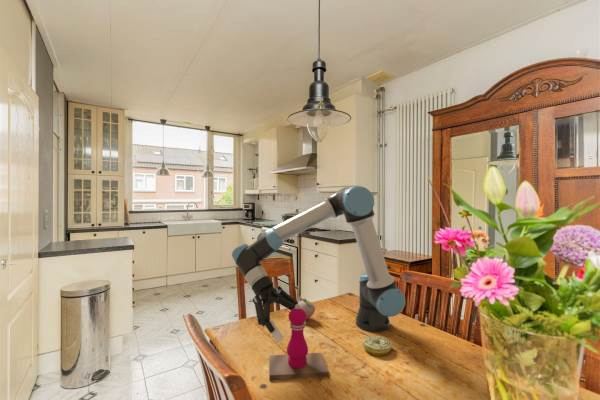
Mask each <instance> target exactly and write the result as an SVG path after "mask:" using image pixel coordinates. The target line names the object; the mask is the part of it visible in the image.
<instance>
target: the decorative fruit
mask: <svg viewBox="0 0 600 400" xmlns="http://www.w3.org/2000/svg"><path fill="white" fill-rule="evenodd" d="M298 304H299V305H300V308H301V309H303V310H304V311H305V313H306V320H307V319H309V318H311V317H313V315H314V314H315V311H316V306H315V304H314V303H313V302H311V301H309V300H308V299H306V297H305V298H301V299H300V301H298Z"/></svg>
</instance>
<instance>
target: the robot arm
mask: <svg viewBox="0 0 600 400" xmlns="http://www.w3.org/2000/svg"><path fill="white" fill-rule="evenodd" d="M374 206H375V197H374V195H373V193H372V192H371V191H370V190H369V189H368V188H366V187H364V186H361V185H352V186H347V187H346V186H345V187H343V188H341V189H339V190H338V191H336V192H334V193H333V194H331V195H330V196H327V197H326V198H324V199H323V202H321V203H318V204H317V205H315V206H312V207H310V208H308V209H306V210H305V211H303V212H301V213H299V214H297V215H295V216H293V217H291V218H288V219H287V220H285V221H283V222H281V223H280V222H279V224H276V225H275V226H273V227H271V228H269V229H267V230H263V231H261V232H260V233H259V234H257V238H256V241H254V242H253V243H252V244H250V245H248V244H247V243H242V244H240V245H237V246H236V247H235V248H234V249H233V251H231V252H232V253H231V257H232V258H233V260H234V262H235V264H236V266H237V268H238V269H239V271H240V272H241V274H242V275H243V277H244V278H245V280H246V282H247V283H248V285H249V286H250V287H251V290H252V291H253V293H254V295H255V296H254V297H252V302H253V304H254V308H255V313H256V318H257V324H258V326H262V327H265V328H267V330H268V332H269V333H270V334H271V335H272V337H273V338H274V340H275V342H277V343H279V342H280V341H281V340H283V338H284V336H283V335H282V333H281V332H280V330H279V328H278V326H277V325H276V323H275V322H274V320H273V319H271V305H272V304H279V305H281V306H282V307H285V308H286V309H287V310H290V311H291V310H292V309H294V308H295V305H296V304H298V303H299V301H297V300H296V299H295V298H293V297H292V296H291V295H290V294H289V293H287V292H286V290H284V289H283V288H282V287H281V286H280V285H279V286H277V287H276V288H275V287H274V282H273V281H272V279H271V278H270V276H269V275H268V273H267V272H266V270H265V268H264V267H263V265H262V264H261V262H262V261H264V260H265V259H267V258H268V257H269V256H271V255H272V254H274V252H276V251H278V250H279V249H280V248H281V247H282V246H283V245H284V241H287V240H289V239H290V238H293V237H295V236H297V235H298V234H301V233H303V232H305V231H307V230H309V229H311V228H312V227H315V226H317V225H319V224H320V223H323V222H325V221H326V220H329V219H330V218H333V219H335V218H337V217H339V216H342V215H344V218H345V222H346V223H347V224H348V225H350V226H351V229H352V231H353V235H354V238H355V241H356V244H357V247H358V250H359V253H360V256H361V259H362V263H363V265H364V269H365V271H366V273H364V274H361V275H360V276H359V281H358V282H359V307H358V310H357V314H356V316H355V325H356V327H358V328H360V329H362V330H365V331H368V332H369V331H370V332H375V333H376V332H378V333H379V332H384V331H387V330H389V329H390V327H391V326H390V325H391V322H390V318H392V317H396V316H398V315H399V314H401V312H403V310H404V308H405V306H406V297H405V294H404V293H403V292H402V290H400V289H399V287H398V285H397V282H396V279H395V277H394V276H393V275H391V274H390V272H389V269H388V266H387V265H388V264H387V262H386V259H385V256H384V252H383V250H382V247H381V243H380V240H379V237H378V234H377V231H376V227H375V225H374V221H373V218H374V217H375V212H374V211H375V210H374ZM304 323H305V324H307V322H306V321H305V322H304Z"/></svg>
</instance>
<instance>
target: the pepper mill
mask: <svg viewBox="0 0 600 400" xmlns="http://www.w3.org/2000/svg"><path fill="white" fill-rule="evenodd" d="M306 320H307V319H306V313H305V311H304V310H303V309H301V308H300V305H299V304H296V305H295V308H294V309H292V310H290V311H289V314H288V321H289V322H290V323H289V325H290V326H289V329H291V335H290V339H289V342H288V343H287V346H286V355H288V356H289V357H288V364H289V366H291V367H293V368H302V367H304V366H305V365H306V363H307V358H306V355H307V354H308V353H309V347H308V343H307V341H306V338H305V335H304V329H305V328H306V326H305V325H306V323H304V322H306Z"/></svg>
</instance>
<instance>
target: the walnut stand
mask: <svg viewBox="0 0 600 400" xmlns="http://www.w3.org/2000/svg"><path fill="white" fill-rule="evenodd" d="M288 357H289V356H288V354H271V355H270V354H269V358H268V362H269V363H268V364H269V365H268V366H269V367H268V369H269V372H268V373H269V376H268V377H269V378H268V379H269V381H277V380H294V379H309V378H310V379H313V378H323V377H324V378H325V377H326V378H327V377H328V378H329V375H330V373H329V369H328V366H327V363H326V361H325V357H324V354H323V352H312V353H311V352H308V354H307V355H306V358H307V363H306V365H305V366H304V367H302V368H293V367H291V366H289V364H288Z"/></svg>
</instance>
